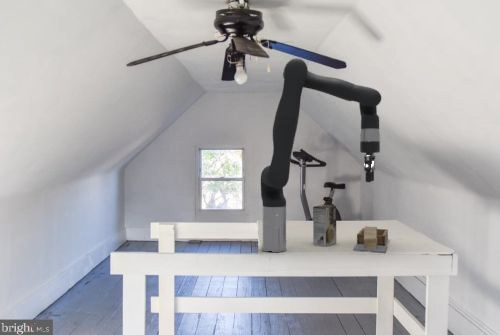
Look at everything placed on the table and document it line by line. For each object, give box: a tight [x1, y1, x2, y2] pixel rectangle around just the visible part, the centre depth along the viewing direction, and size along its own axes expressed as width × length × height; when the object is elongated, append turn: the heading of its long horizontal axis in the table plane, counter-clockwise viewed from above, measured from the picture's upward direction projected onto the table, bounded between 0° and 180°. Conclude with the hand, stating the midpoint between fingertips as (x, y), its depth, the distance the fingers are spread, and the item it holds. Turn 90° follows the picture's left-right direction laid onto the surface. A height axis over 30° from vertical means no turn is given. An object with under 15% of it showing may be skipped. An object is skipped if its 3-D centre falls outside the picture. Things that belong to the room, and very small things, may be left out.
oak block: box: [363, 225, 378, 249], centre depth 170 cm, size 4×4×8 cm
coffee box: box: [312, 204, 337, 247], centre depth 181 cm, size 9×6×16 cm
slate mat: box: [352, 243, 388, 254], centre depth 170 cm, size 11×12×1 cm
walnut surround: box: [356, 227, 389, 246], centre depth 185 cm, size 18×11×4 cm, turn 159°
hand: (369, 181), depth 171 cm, fingers open, 8 cm apart
